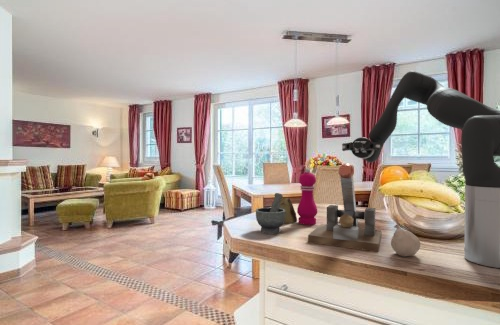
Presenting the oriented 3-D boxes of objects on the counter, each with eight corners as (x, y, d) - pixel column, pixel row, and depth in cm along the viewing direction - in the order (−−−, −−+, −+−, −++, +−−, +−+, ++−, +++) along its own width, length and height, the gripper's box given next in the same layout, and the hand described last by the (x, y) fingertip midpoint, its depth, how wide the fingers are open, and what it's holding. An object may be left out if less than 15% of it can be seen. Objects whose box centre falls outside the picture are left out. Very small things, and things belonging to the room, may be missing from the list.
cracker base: (381, 236, 87) (381, 206, 87) (378, 252, 72) (378, 216, 72) (321, 229, 95) (321, 202, 95) (307, 242, 80) (307, 210, 80)
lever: (365, 221, 87) (361, 160, 75) (363, 240, 82) (358, 178, 70) (339, 218, 91) (332, 160, 79) (336, 237, 85) (327, 177, 73)
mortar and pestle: (274, 237, 86) (274, 196, 86) (249, 232, 92) (249, 194, 92) (292, 229, 95) (292, 193, 95) (268, 225, 101) (269, 191, 101)
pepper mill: (320, 222, 106) (320, 168, 106) (313, 226, 100) (313, 168, 100) (301, 220, 110) (302, 167, 110) (294, 223, 104) (294, 168, 104)
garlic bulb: (386, 250, 74) (386, 219, 73) (412, 251, 73) (413, 220, 73) (397, 259, 67) (397, 225, 67) (426, 260, 66) (426, 226, 66)
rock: (261, 216, 106) (283, 216, 100) (267, 197, 110) (288, 196, 104) (275, 229, 112) (297, 230, 106) (280, 211, 116) (301, 210, 110)
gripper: (344, 139, 111) (336, 134, 96) (382, 137, 105) (380, 132, 90) (344, 158, 111) (336, 156, 96) (382, 158, 105) (380, 156, 90)
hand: (357, 144), depth 93 cm, fingers closed
